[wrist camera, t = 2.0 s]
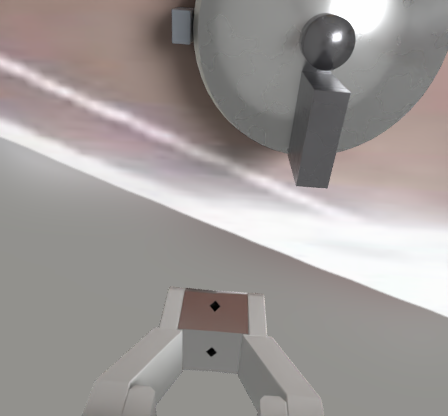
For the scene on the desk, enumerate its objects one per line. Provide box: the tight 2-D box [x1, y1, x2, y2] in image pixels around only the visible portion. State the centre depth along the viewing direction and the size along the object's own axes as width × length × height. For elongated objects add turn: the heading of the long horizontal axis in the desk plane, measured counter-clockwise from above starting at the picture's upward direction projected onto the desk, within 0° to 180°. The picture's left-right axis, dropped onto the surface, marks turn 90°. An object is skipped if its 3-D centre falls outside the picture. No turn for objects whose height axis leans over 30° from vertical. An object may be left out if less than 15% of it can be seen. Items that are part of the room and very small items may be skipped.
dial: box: [198, 0, 448, 188], centre depth 21 cm, size 16×16×6 cm
